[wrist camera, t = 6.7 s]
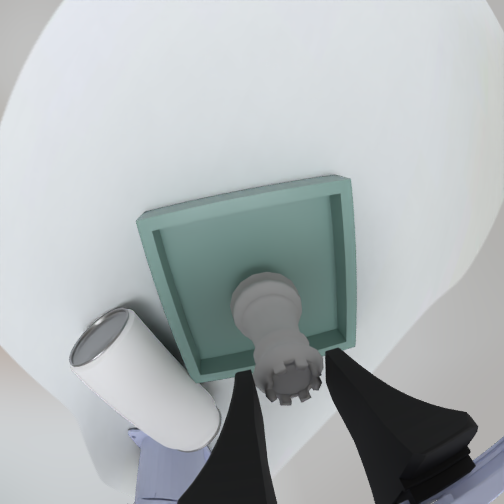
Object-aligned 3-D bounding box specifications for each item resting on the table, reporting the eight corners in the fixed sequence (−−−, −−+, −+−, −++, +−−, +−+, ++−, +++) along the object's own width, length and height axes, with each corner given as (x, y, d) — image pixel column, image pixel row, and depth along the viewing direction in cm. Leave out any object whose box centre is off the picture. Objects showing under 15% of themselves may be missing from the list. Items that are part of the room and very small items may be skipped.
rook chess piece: (285, 257, 18) (331, 328, 11) (305, 313, 20) (350, 394, 12) (218, 285, 18) (223, 371, 11) (245, 338, 20) (262, 429, 12)
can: (118, 349, 14) (229, 446, 19) (139, 292, 20) (223, 388, 25) (55, 379, 15) (164, 462, 19) (83, 325, 21) (168, 409, 25)
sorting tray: (343, 329, 24) (355, 346, 21) (194, 363, 23) (193, 383, 21) (334, 174, 19) (350, 178, 17) (144, 211, 18) (135, 220, 16)
